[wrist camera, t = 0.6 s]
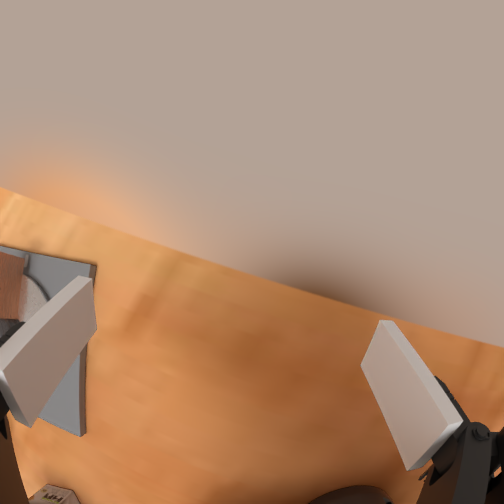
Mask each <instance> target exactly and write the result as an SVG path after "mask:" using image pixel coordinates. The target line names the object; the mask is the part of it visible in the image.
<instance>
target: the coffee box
mask: <svg viewBox="0 0 504 504" xmlns="http://www.w3.org/2000/svg"><path fill="white" fill-rule="evenodd" d="M28 501H29V503H30V504H80V503H79V501H78V499H77V497H76V496H75V494H74V492H73V491H72V490H68V489H64V488H60V487H56V486H52V485H48V484H46V485H45V486H44V487H43V488H42V489H40V490H39V491H38V492H36V493H35V494H34V495H33V496H31V497H30V498H29V499H28Z"/></svg>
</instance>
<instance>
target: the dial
mask: <svg viewBox="0 0 504 504" xmlns="http://www.w3.org/2000/svg"><path fill="white" fill-rule="evenodd" d="M24 263H25V259H24V258H21V257H17V256H14V255H10V254H7V253H4V252H0V338H1V337H2V336H3V335H5V333H6V332H7V331H8V330H9V329H10V328H11V327H12V326H14V325H16V324H18V323H20V322H22V321H24V322H27V321H28V320H29V319H30V318H31V317H32V316H33V315H34V314H35V313H36V312H38V311H39V310H40V309H41V308H42V307H43V306H44V305H45V304H46V303H47V302H48V301H49V299H48V297H47V295H46V293H45V292H44V290H43V289H42V288H41V286H40V285H39V284H38V283H37V282H36V281H35V280H33V279H32V278H30V277H29V276H26V275H24V274H23V268H24Z"/></svg>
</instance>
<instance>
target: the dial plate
mask: <svg viewBox="0 0 504 504" xmlns="http://www.w3.org/2000/svg"><path fill="white" fill-rule="evenodd" d="M0 252H4V253H7V254H10V255H14V256H17V257H21V258H24V259H25V263H24V268H23V274H24V275H26V276H29V277H30V278H32V279H33V280H35V281H36V282H37V283H38V284H39V285H40V286H41V288H42V289H43V290H44V292H45V293H46V295H47V297H48V299H49V301H50V300H51V299H52V298H53V297H54V296H55V295H56V294H57V293H59V292H60V291H61V290H62V289H63V288H64V287H65V286H67V285H68V284H69V283H70V282H71V281H72V280H74V279H75V278H76V277H77V276H78V275H79V276H83V277H88V278H92V283H93V285H94V279H95V273H96V267H97V266H94V265H91V264H85V263H80V262H75V261H70V260H65V259H60V258H55V257H50V256H45V255H40V254H35V253H30V252H26V251H21V250H16V249H12V248H7V247H3V246H0ZM86 350H87V344H86V345H85V347H84V348H83V349H82V351H81V352H80V354H79V355H78V356H77V358H76V359H75V361H74V362H73V364H72V365H71V367H70V368H69V369H68V371H67V372H66V374H65V375H64V377H63V378H62V380H61V381H60V383H59V384H58V386H57V387H56V389H55V390H54V392H53V393H52V395H51V397H50V398H49V400H48V401H47V403H46V404H45V406H44V408H43V409H42V411H41V412H40V414H39V416H38V417H39V418H41V419H43V420H45V421H47V422H49V423H51V424H53V425H55V426H57V427H59V428H61V429H63V430H66V431H68V432H70V433H72V434H74V435H77V436H79V437H81V436H83V435H84V434H86V424H85V369H86Z"/></svg>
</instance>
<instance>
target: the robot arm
mask: <svg viewBox="0 0 504 504" xmlns="http://www.w3.org/2000/svg"><path fill="white" fill-rule="evenodd" d="M96 330H97V325H96V316H95V307H94V296H93V283H92V278H88V277H83V276H79V275H78V276H77V277H76V278H75V279H74V280H72V281H71V282H70V283H69V284H68V285H67V286H65V287H64V288H63V289H62V290H61V291H60V292H59V293H57V294H56V295H55V296H54V297H53V298H52V299H51V300H50V301H48V302H47V303H46V304H45V305H44V306H43V307H42V308H41V309H40V310H39V311H38V312H36V313H35V314H34V315H33V316H32V317H31V318H30V319H29V320H28V321H27V322H24V321H22V322H20V323H18V324H16V325H14V326H12V327H11V328H10V329H9V330H8V331H7V332H6V333H5V335H3V336H2V337H1V338H0V504H30V503H29V501H28V498H27V495H26V492H25V489H24V486H23V482H22V479H21V476H20V472H19V468H18V465H17V461H16V457H15V452H14V448H13V443H12V438H11V433H10V427H9V421H8V419H7V416H6V414H7V412H8V411H9V409H10V411H11V413H12V415H13V416H14V418H15V420H17V421H19V422H20V423H22V424H24V425H26V426H28V427H30V428H31V427H32V425H33V424H34V422H35V420H36V419H37V417H38V416H39V414H40V412H41V411H42V409H43V408H44V406H45V404H46V403H47V401H48V400H49V398H50V397H51V395H52V393H53V392H54V390H55V389H56V387H57V386H58V384H59V383H60V381H61V380H62V378H63V377H64V375H65V374H66V372H67V371H68V369H69V368H70V367H71V365H72V364H73V362H74V361H75V359H76V358H77V356H78V355H79V354H80V352H81V351H82V349H83V348H84V347H85V345H86V344H87V342H88V341H89V340H90V338H91V337H92V336H93V334H94V333H95V332H96ZM360 366H361V368H362V370H363V372H364V374H365V377H366V379H367V381H368V383H369V385H370V387H371V389H372V392H373V394H374V396H375V398H376V400H377V403H378V405H379V407H380V409H381V411H382V414H383V416H384V418H385V420H386V423H387V425H388V427H389V430H390V432H391V434H392V437H393V439H394V441H395V444H396V446H397V448H398V451H399V453H400V455H401V458H402V460H403V463H404V465H405V468H406V470H407V471H409V470H413V469H417V468H421V467H423V466H424V465H425V464H426V463H427V462H428V461H429V460H430V459H432V461H433V463H434V464H433V465H432V466H430V467H429V468H428V469H427V470H426V471H425V472H424V473H423V474H422V475H421V476H420V478H419V479H418V480H422V479H423V478H424V477H425V476H426V475H427V477H426V480H424V485H423V488H422V491H421V493H420V496H419V499H418V501H417V504H504V427H503V428H502V429H501V431H500V432H490V430H489V429H488V428H487V427H486V426H485V425H484V424H482V423H479V422H470V421H469V419H468V417H467V416H466V414H465V413H464V411H463V410H462V408H461V407H460V405H459V404H458V402H457V401H456V399H455V400H454V397H453V395H452V394H451V393H450V391H449V389H448V388H447V386H446V385H445V384H444V383H443V382H442V381H441V380H440V379H439V378H437V377H436V376H433V374H432V373H431V372H430V370H429V369H428V367H427V366H426V365H425V363H424V362H423V360H422V359H421V358H420V356H419V355H418V354H417V352H416V351H415V349H414V348H413V347H412V345H411V344H410V343H409V341H408V340H407V339H406V337H405V336H404V335H403V333H402V332H401V331H400V329H399V328H398V327H397V325H396V324H395V323H394V322H393V321H389V320H379V323H378V325H377V328H376V330H375V333H374V335H373V338H372V340H371V342H370V345H369V347H368V349H367V352H366V354H365V356H364V358H363V360H362V363H361V365H360ZM500 466H501V470H502V472H501V473H500V474H499V475H498V476H496V477H494V472H495V471H496V470H497V469H498V468H499V467H500ZM308 504H394V503H393V501H392V500H391V498H390V497H389V496H388V495H387V494H386V493H385V492H384V491H383V490H381V489H379V488H376V487H372V486H353V487H347V488H343V489H339V490H336V491H333V492H330V493H328V494H325V495H323V496H321V497H319V498H317V499H315V500H313V501H312V502H310V503H308Z"/></svg>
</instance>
